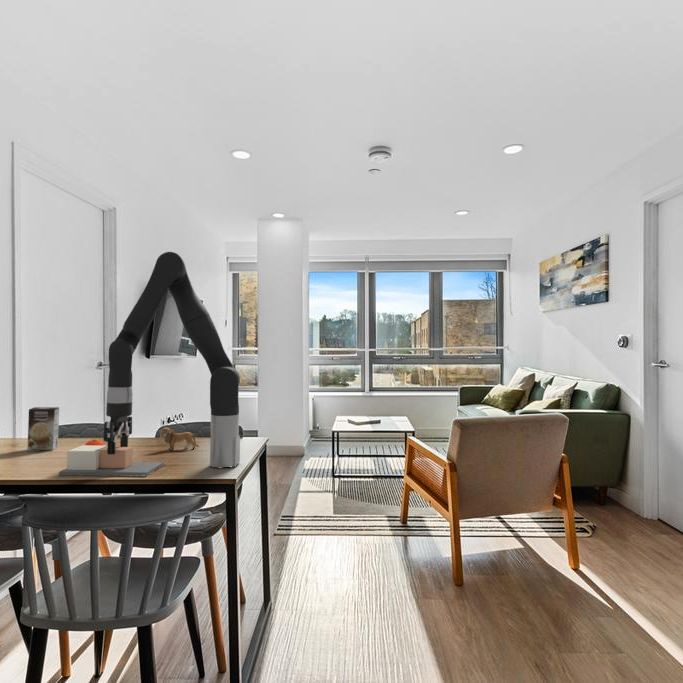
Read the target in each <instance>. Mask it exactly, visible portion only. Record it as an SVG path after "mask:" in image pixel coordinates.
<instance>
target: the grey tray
mask: <svg viewBox="0 0 683 683" xmlns="http://www.w3.org/2000/svg"><path fill="white" fill-rule="evenodd" d="M104 448H107V445H105V446H95V445H85V444H84V445H80V446H77V447H75V448H72V449H70V450H67V452H66V453H67V454H66V457H67V458H66V468H64V469H62V470H59V471H58V476H59V475H145V476H144V477H148V476H149V475H148V474H150V473H151V474H153V473H154V472H153V471H155V470H156V471H158V470H159V469H161V468H163V467H164V466H165V461H132V465H130V466H128V467H126V468H100V450H101V449H104ZM163 465H164V466H163ZM162 466H163V467H162ZM160 467H161V468H160ZM158 468H159V469H158ZM157 469H158V470H157ZM156 471H155V472H156ZM152 472H153V473H152ZM151 474H150V475H151ZM147 475H148V476H147Z"/></svg>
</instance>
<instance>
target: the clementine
mask: <svg viewBox="0 0 683 683" xmlns="http://www.w3.org/2000/svg"><path fill="white" fill-rule="evenodd" d="M84 445H95V446H106V445H105V444H104V441H103V440H101V439H99V438H98V439H97V438H96V439H95V438H94V439H91V440H89V441H87V442H86V443H85V444H84Z"/></svg>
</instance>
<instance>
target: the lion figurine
mask: <svg viewBox="0 0 683 683" xmlns="http://www.w3.org/2000/svg"><path fill="white" fill-rule="evenodd" d="M159 438H160V439H161V440H162V441H164V442H165V443H166V444H169V448H168V449H170V450H173V451H175V443H176V444H177V443H182V442H185V443H186V446H184V449H188V448H189V447H190V446H191V445H192V447H191V449H192V448H195V449H196V447H197V448H199V446H200V445H198V444H197V443H196V442H197V441H196V437H195V435H194V434H193V433H192V432H190V431H185V432H180V433H179V432H177V431H176V430H173V429H171V428H170V427H163V428H161V429H160V432H159ZM170 450H169V451H170Z"/></svg>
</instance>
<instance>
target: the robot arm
mask: <svg viewBox="0 0 683 683" xmlns="http://www.w3.org/2000/svg"><path fill="white" fill-rule="evenodd" d="M167 290H168V291H169V292H170V294H171V296H172V298H173V301H174V302H175V306H176V309H177V312H178V315H179V318H180V321H181V323H182V325H183V328H184V330H185V332H186V334H187V335H188V337H189V339H190V341H191V342H192V344H193V345H194V347H195V348H196V349H197V351H198V352H199V354H200V355H201V356H202V358H203V359H204V361H205V364H206V366H207V367H208V370H209V373H210V375H211V376H210V380H209V407H210V436H209V437H210V438H209V439H210V444H209V445H210V448H209V450H210V452H209V453H210V454H209V466H210V467H211V466H212V467H211V468H213V467H230V466H236V465H237V464H238V463H239V462H240V460H241V458H240V457H241V456H240V455H241V436H240V435H239V428H240V426H239V424H240V423H239V422H240V419H239V418H240V416H239V415H240V405H239V386H240V382H241V377H240V374H239V373H238V371H237V369H236V368H235V365H233V363H232V362H231V360H230V358H229V357H228V355H227V353H226V351H225V348H224V346H223V344H222V341H221V337H220V335H219V332H218V330H217V329H216V325H215V324H214V322H213V320H212V318H211V316H210V312H208V310H207V308H206V307H205V305H204V303H203V302H202V300H201V298H200V297H199V296H198V295H197V293H196V292H195V290H194V287H193V285H192V283H191V281H190V278H189V275H188V271H187V266H186V264H185V261H184V259H183V257H182V256H181V255H180V254H179V253H177V252H174V251H166V252H164V253H161V254H160V255H159V256H158V257H157V259H156V261H155V265H154V267H153V269H152V272H151V275H150V277H149V280H148V281H147V284H146V286H145V288H144V289H143V292H142V293H141V294H140V297H139V298H138V300H137V301H136V303H135V305H134V306H133V308H132V309H131V311H130V313H129V314H128V316H127V318H126V320H125V321H124V322H123V326H122V329H121V330H120V332H119V334H118V335H117V336H116V338H115V340H113V341H112V342H111V343H110V344H109V347H108V368H109V369H108V380H107V382H108V385H107V392H106V407H105V408H106V410H105V411H106V412H105V414H106V416H107V417H110V419H109V421H104V424H103V438H102V439H103V440H102V442H106V443H107V445H106V446H107V454H112V455H113V454H115V447H117V446H116V443H117V442H116V441H117V438H118V437H120V444H119V447H129V437H130V435H132V433H133V417H132V414H133V370H132V364H133V355H134V352H135V351H136V349H137V347H138V345H139V343H140V341H141V340H142V337H143V336H144V335H145V333H146V332H147V331H148V329H149V328H150V325H152V324H151V323H152V322H153V320H154V319H155V317H156V314H157V312H158V309H159V307H160V305H161V303H162V300H163V298H164V296H165V294H166V293H167ZM239 464H240V463H239ZM239 464H238V465H239ZM238 465H237V466H238Z"/></svg>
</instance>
